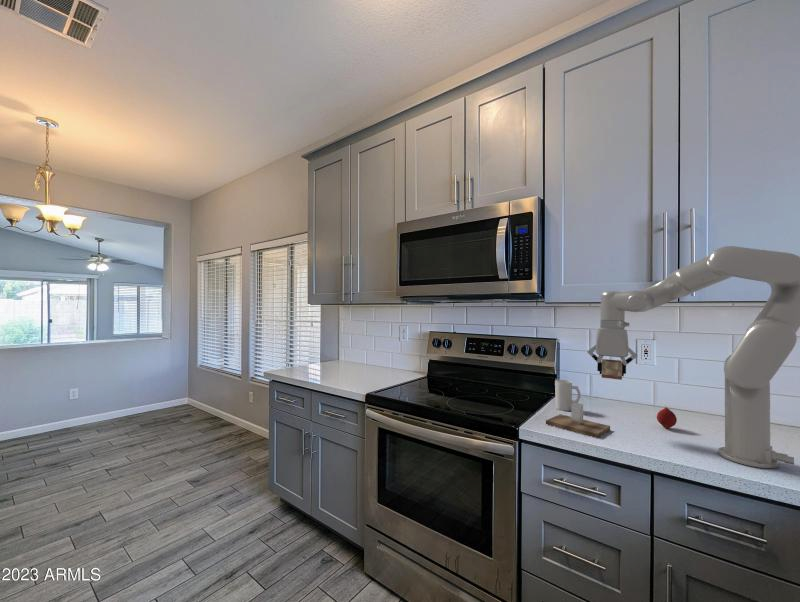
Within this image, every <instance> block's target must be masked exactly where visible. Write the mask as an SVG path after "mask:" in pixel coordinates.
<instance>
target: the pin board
mask: <svg viewBox="0 0 800 602" xmlns="http://www.w3.org/2000/svg"><path fill="white" fill-rule="evenodd" d="M546 424H548V425H547V426H550V425H551V426H550V427H553V426H555V427H554V428H557V427H558V429H561V428H562V429H561V430H565V429H566V430H565V431H568V430H569V432H572V431H573V432H572V433H576V432H577V434H580V435H584V436H588V437H591V436H592V437H591V438H595V437H596V438H595V439H599V438H600V437H602V436H603V435H605V434H606V433H608V432H609V430H611V425H609V424H608V425H607V424H604V423H599V422H595V421H590V420H586V419H583V424H581V425H577V424H573V423H571V416H570V415H569V416H568V415H564V414H561V413H560V414H558V415H554V416H553V417H550V418H549V419H547V420H546V419H545V425H546ZM607 431H608V432H607ZM604 433H605V434H604ZM601 435H602V436H601ZM598 437H599V438H598Z"/></svg>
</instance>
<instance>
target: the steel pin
mask: <svg viewBox="0 0 800 602" xmlns="http://www.w3.org/2000/svg"><path fill="white" fill-rule="evenodd" d="M570 412H571V414H570V415H571V416H570V417H571V423H573V424H577V425H581V424H583V420H584V404H583V403H579V402H578V403H573V404H571V410H570Z"/></svg>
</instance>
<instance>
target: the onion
mask: <svg viewBox="0 0 800 602" xmlns="http://www.w3.org/2000/svg"><path fill="white" fill-rule="evenodd" d="M656 419H657V422H658V423H659V424H660V425H661V426H662V427H663V428H664V429H666V430H667V429H670V428H672V427H674V426H675V425H676V424H677V421H678V418H677V415H676V414H675V413H674V412H673V411H672V410H670V409H669V407H667V406H664V407H663V409H660V410H659V411H658V413H657V414H656Z"/></svg>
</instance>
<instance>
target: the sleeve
mask: <svg viewBox="0 0 800 602" xmlns="http://www.w3.org/2000/svg"><path fill="white" fill-rule="evenodd" d="M601 363H602V374H601V378H603V379H612V380H621V381H622V380H623V376H622V360H621V359H609V358H602V360H601Z"/></svg>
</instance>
